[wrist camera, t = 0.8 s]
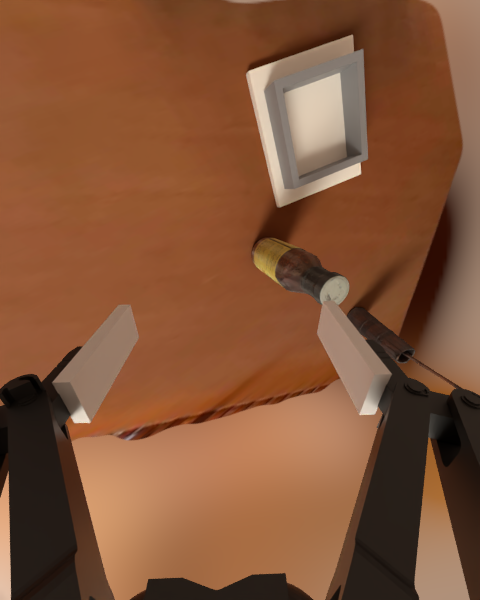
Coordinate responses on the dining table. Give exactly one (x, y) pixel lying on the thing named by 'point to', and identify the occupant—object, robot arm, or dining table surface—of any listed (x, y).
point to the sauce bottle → (298, 270)
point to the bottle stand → (311, 118)
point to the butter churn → (386, 338)
